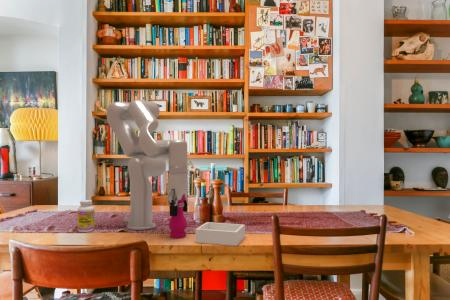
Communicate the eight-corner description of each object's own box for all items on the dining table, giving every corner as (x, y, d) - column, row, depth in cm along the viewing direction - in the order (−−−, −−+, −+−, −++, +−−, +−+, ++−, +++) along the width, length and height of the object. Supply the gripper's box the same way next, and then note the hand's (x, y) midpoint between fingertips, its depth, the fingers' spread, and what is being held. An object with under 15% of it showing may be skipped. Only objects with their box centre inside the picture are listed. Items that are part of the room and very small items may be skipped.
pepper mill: (183, 239, 141) (183, 187, 140) (166, 238, 142) (166, 187, 142) (189, 234, 148) (189, 185, 147) (172, 233, 149) (172, 185, 149)
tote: (195, 242, 136) (195, 229, 136) (206, 234, 148) (206, 222, 148) (236, 246, 131) (236, 232, 131) (244, 237, 144) (244, 224, 144)
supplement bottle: (76, 233, 150) (76, 202, 149) (79, 229, 156) (79, 199, 156) (93, 232, 151) (93, 201, 151) (95, 228, 157) (95, 199, 157)
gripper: (178, 169, 154) (178, 210, 154) (159, 172, 137) (160, 217, 137) (194, 169, 151) (195, 210, 151) (177, 172, 135) (178, 218, 135)
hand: (178, 213), depth 144 cm, fingers open, 9 cm apart
